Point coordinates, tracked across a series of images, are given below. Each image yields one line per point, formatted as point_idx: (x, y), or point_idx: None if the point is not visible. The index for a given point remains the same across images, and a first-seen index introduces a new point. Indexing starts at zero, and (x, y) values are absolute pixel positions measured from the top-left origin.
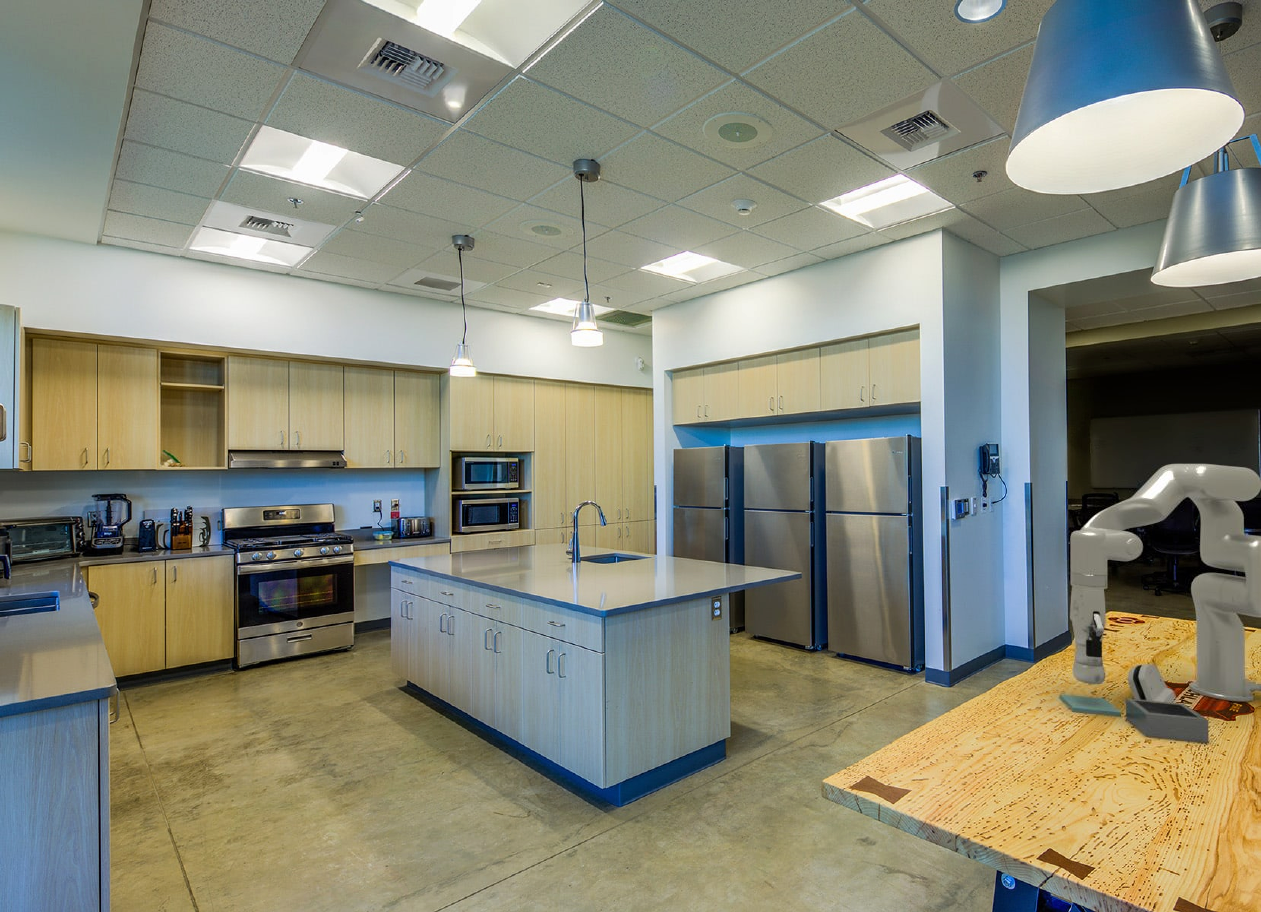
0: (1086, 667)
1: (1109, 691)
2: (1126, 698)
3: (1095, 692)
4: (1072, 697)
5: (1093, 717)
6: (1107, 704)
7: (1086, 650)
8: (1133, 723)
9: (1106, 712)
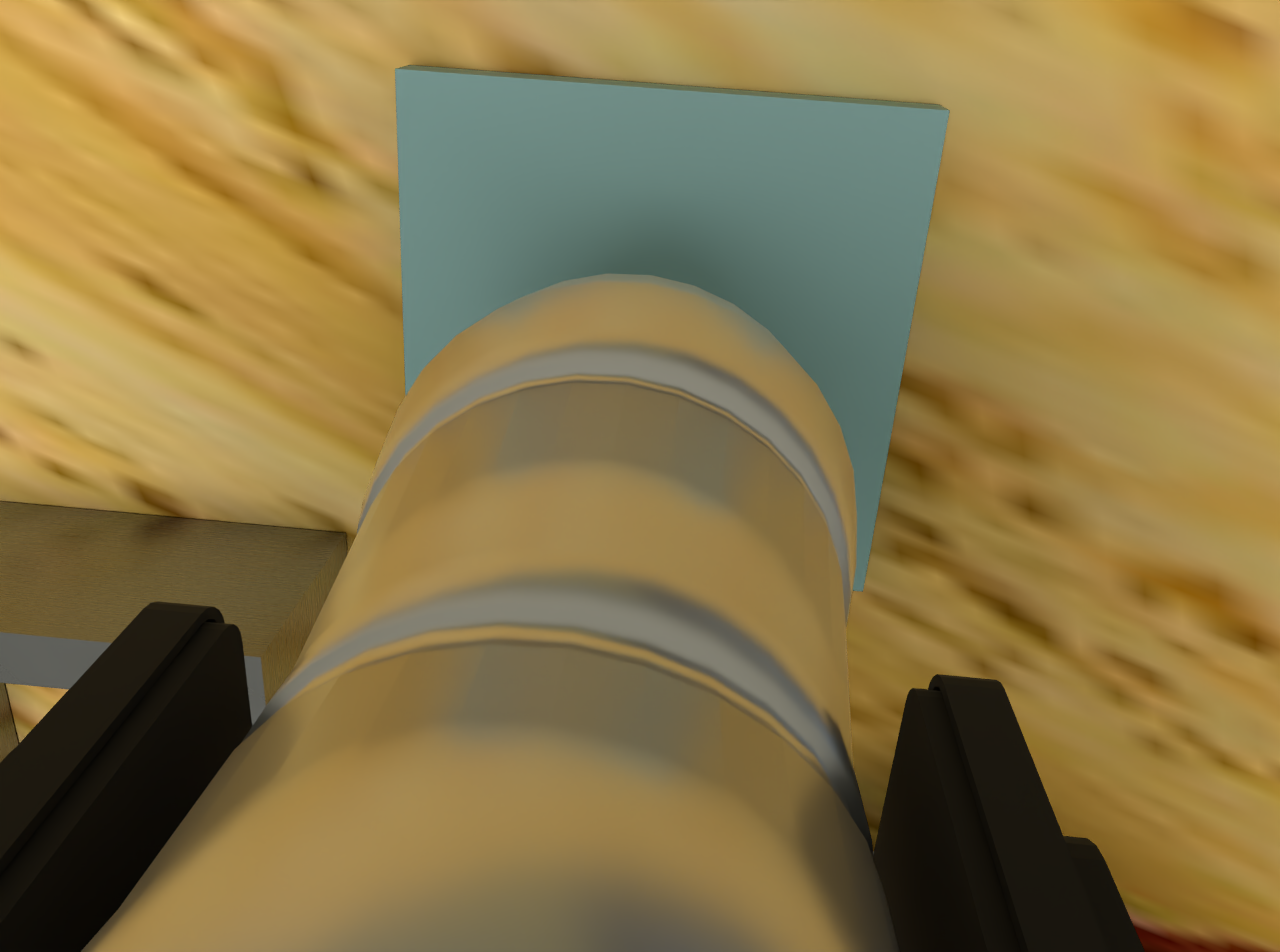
0: (373, 479)
1: (1249, 768)
2: (256, 661)
3: (1209, 624)
4: (827, 234)
5: (294, 235)
6: None
7: (103, 684)
8: (164, 529)
9: None
